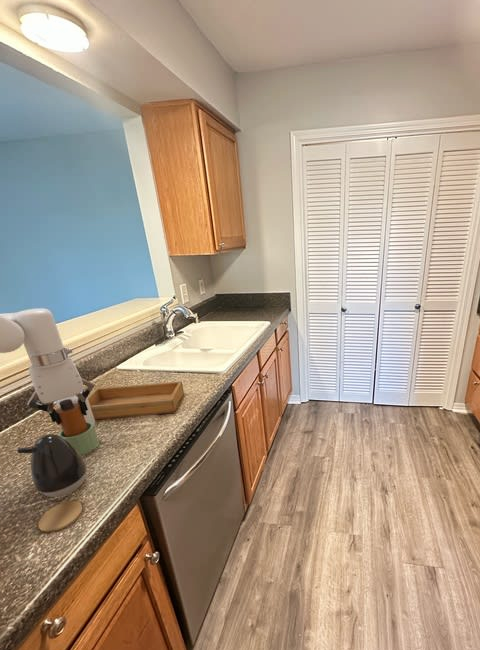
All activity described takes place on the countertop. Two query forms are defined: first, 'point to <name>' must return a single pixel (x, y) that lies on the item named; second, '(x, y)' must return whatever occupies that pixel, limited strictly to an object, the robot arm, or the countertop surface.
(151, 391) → the tray
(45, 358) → the robot arm
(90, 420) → the pill bottle
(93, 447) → the cup
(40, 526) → the coaster
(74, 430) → the bottle
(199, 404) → the countertop surface
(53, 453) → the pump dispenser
